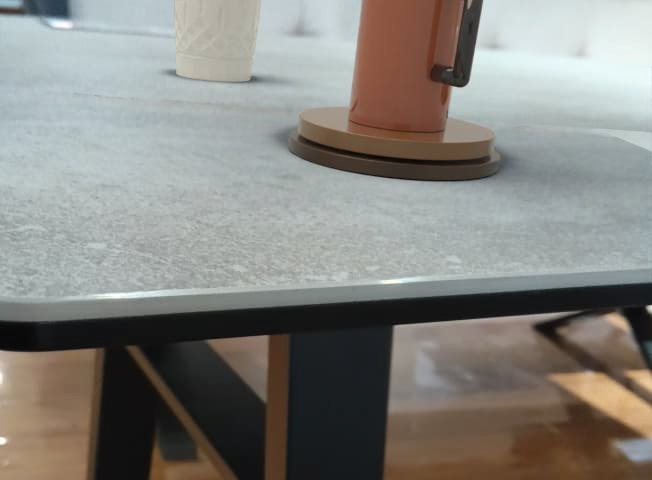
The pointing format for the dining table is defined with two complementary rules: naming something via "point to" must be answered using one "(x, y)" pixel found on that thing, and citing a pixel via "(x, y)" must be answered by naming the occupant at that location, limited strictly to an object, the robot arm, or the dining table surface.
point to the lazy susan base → (392, 162)
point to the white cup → (216, 38)
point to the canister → (407, 84)
